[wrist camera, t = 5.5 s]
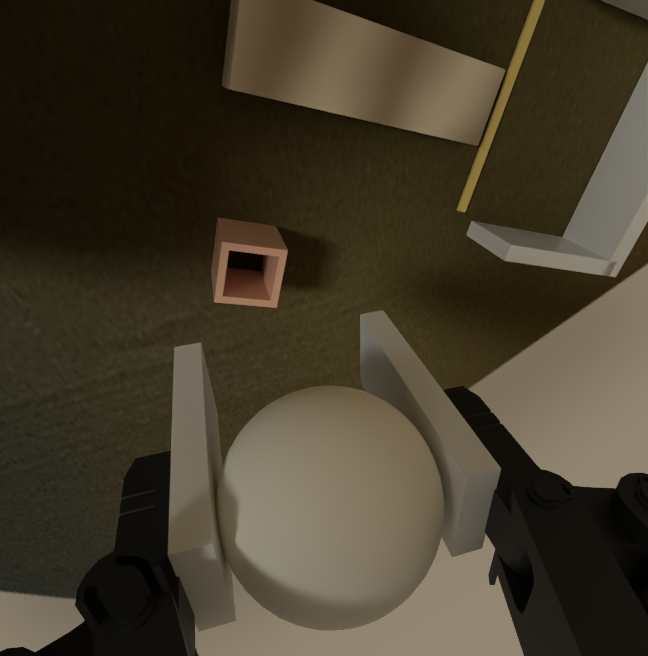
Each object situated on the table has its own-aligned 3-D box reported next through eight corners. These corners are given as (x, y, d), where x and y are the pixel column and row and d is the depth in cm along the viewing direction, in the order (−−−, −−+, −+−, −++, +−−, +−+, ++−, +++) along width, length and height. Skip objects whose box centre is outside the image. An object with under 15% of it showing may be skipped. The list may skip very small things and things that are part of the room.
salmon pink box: (210, 271, 28) (214, 302, 24) (217, 217, 26) (222, 241, 23) (266, 277, 29) (276, 307, 25) (275, 225, 27) (288, 250, 24)
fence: (466, 235, 31) (504, 260, 27) (571, -39, 24) (642, -54, 20) (568, 251, 34) (615, 277, 30) (688, 13, 27) (769, 7, 23)
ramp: (217, 81, 23) (223, 87, 19) (228, -15, 21) (236, -28, 17) (467, 142, 28) (508, 156, 24) (493, 69, 26) (542, 72, 22)
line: (456, 210, 30) (457, 210, 29) (537, -13, 24) (539, -13, 24) (464, 211, 30) (465, 212, 30) (546, -9, 24) (548, -9, 24)
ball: (226, 502, 13) (245, 710, 9) (192, 364, 10) (197, 571, 6) (389, 463, 14) (472, 635, 10) (395, 328, 11) (514, 486, 7)
